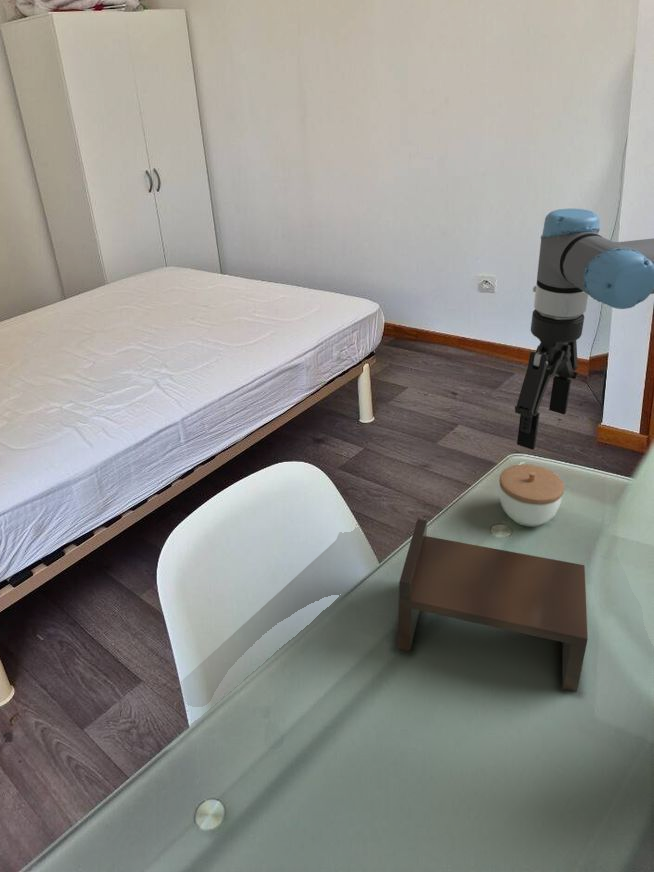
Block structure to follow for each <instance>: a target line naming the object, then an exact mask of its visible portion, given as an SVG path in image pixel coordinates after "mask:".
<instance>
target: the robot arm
mask: <svg viewBox="0 0 654 872" xmlns="http://www.w3.org/2000/svg"><path fill="white" fill-rule="evenodd" d="M599 232H600V217H599V215H598V213H597V212H595V211H592V210H589V209H583V208H562V209H561V208H559V209H555V210H552V211H550V212H549V213H548V214H546V216H545V218H544V222H543V229H542V235H540V245H539V246H540V247H539V256H538V264H537V265H538V266H537V275H536V285H534V286H533V287H532V292H533V293H535V294H534V300H533V308H534V309H533V311H532V315H531V322H530V332H531V334H532V336H534V337H535V338H537V339H538V340H539V342H540V343H539V345H537V346H536V347H537V348H536V350H535V351H530V353H529V358H528V364H527V368H526V371H525V375H524V379H523V382H522V385H521V389H520V393H519V395H518V399H517V402H516V405H515V406H514V412H515V414H518V415H519V422H518V423H519V424H518V431H517V440H516V445H517V446H519V447H523V448H526V449H528V450H532V451H534V450H535V448H536V444H537V443H536V442H537V436H538V429H539V421H540V415H541V414H540V412H539V410H540V406H541V403H542V402H543V398H544V395H545V393H546V390H547V388H548V385H549V382H550V379H551V378H552V377H553V379H552V386H551V392H550V393H551V394H550V399H549V406H548V407H549V408H548V411H550V412H554V413H557V414H561V415H565V414H567V410H568V409H567V408H568V403H569V398H570V397H569V396H570V391H571V384H572V379H573V380H577V378H578V375H579V373H578V372H576V371H577V370H578V369H579V368H578V367H579V365H578V364H579V363H578V347H577V345H578V344H577V340H579V339H580V338H581V337H582V334H583V328H584V322H585V312H586V311H587V305H588V299H589V298H588V297H589V296H590V297H591V298H592V299H593V300H595V301H597V302H598V303H602V304H604V305H607V306H609V307H611V308H614V309H618V310H627V309H631V308H634V307H635V306H637V305H638V304H640V303H643V302H644V301H645V300H646V299H648V298H649V296H650V295H654V238H645V239H644V238H643V239H635V240H625V241H613V240H610V239H608V238H606V237H604V236H602V235H600V234H599Z"/></svg>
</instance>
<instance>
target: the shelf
mask: <svg viewBox="0 0 654 872" xmlns="http://www.w3.org/2000/svg"><path fill="white" fill-rule="evenodd" d="M427 531H428V520H426V519H420V518H417V519H416V522H415V526H414V529H413V533H412V536H411V540H410V543H409V547H408V549H407V550H408V551H407V554H406V557H405V561H404V564H403V568H402V571H401V575H400V577H399V583H398V584H399V585H398V612H397V613H398V614H397V615H398V616H397V646H396V647H397V650H401V651H405V652H411V648H412V645H413V641H414V635H415V632H416V627H417V623H418V619H419V615H420V612H424V613H428V614H432V615H438V616H441V617H446V618H451V619H456V620H461V621H463V622H464V621H465V622H470V623H473V624H477V625H478V624H479V625H483V626H487V627H492V628H496V629H501V630H506V631H511V632H515V633H519V634H524V635H529V636H533V637H538V638H543V639H547V640H551V641H555V642H560V643H562V689H563V690H566V691H567V690H568V691H571V692H575V693H577V692H578V690H579V684H580V679H581V676H582V675H581V674H582V669H583V664H584V661H585V660H584V659H585V654H586V650H587V644H588V640H589V636H588V615H587V614H588V612H587V611H588V609H587V590H586V589H587V588H586V566H585V564H580V563H575V562H569V561H564V560H558V559H553V558H548V557H542V556H537V555H531V554H525V553H521V552H516V551H509V550H504V549H500V548H499V549H498V548H494V547H487V546H482V545H477V544H472V543H466V542H461V541H455V540H451V539H444V538H439V537H434V536H428V535H427Z"/></svg>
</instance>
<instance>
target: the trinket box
mask: <svg viewBox="0 0 654 872" xmlns="http://www.w3.org/2000/svg"><path fill="white" fill-rule="evenodd" d="M498 488H499V490H498V494H499V501H500V504H501V508H502V510H503V511H504V512H505V514H506V515H507V516H508V517H509V518H510V519H512V520H513V521H514V522H515V523H517V524H518V525H521V526H525V527H538V526H540V525H543V524H546V523H547V522H549V521H551V520H552V519H553V518H554V517H555V515H556V514H557V513H558V511H559V509H560V506H561V503H562V501H563V495H564V492H565V483H564V481H563V479H562V478H561V477H560V476H559V475H558V474H557V473H555V472H554V471H552V470H550V469H548V468H546V467H543V466H541V465H540V466H539V465H534V464H525V463H524V464H514V465H512V466H509V467H507V468H505V469H504V470H503V471H502V472H501V473H500V474H499V487H498Z"/></svg>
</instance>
